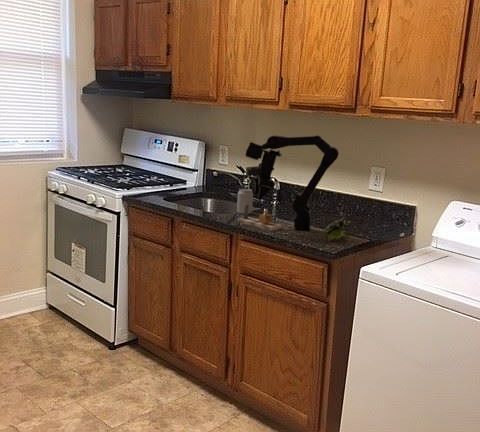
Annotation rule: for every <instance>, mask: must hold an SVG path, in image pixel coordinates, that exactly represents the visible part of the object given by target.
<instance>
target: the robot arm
mask: <svg viewBox="0 0 480 432" xmlns="http://www.w3.org/2000/svg"><path fill="white" fill-rule="evenodd" d="M294 146H295V147H298V146H316V148H318V149H319V150H320V151H321V152H322V153H323V157H322V159H321V161H320V164H319V166H318V167H317V169H316V170H315V172H314V174H313V176H312V177H311V179H310V180H309V182H308V183H307V185H306V187H305V188H304V190H303V191H302V192H297V193H296V196H295V198H294V199H293V200H292V207H291V208H292V210H293V212H295V213H296V216H295V217H294V222H293V223H294V224H293V227H294V230H295V231H305V232H310V230H311V218H312V216H311V212H312V209H311V208H310V207H309V206H308V203H309V202H310V198H311V195H313V192H314V191H315V189H316V188H317V187H318V185H319V183H320V181H321V180H322V177H324V175H325V174H326V172H327V170H328V169H329V168H330V167H331V166H332V164H333V163H334V162H335V161H336V160H337V159H338V157H339V150H338V148H336V147H335V146H331V145H330V144H329V143H328V142H327V141H326V140H324V139H323V138H322V136H320V135H318V134H317V135H308V136H307V135H306V136H284V135H277V134H276V135H271V136H269V137H268V138H267V140H266V142H265V143H263V144H262V145H261V144H257V143H255V142H253V141H250V142H249V145H248V147H247V149H246V150H245V157H246V158H249V159H252V160H255V161H259V159H261V162H259V163H258V165H257V166H256V165H255V166H247V167H245V171H246V172H245V174H246V176H247V177H252V178H253V180H254V182H255V183H254V184H255V185H254V187H255V188H254V194H255V195H258V196H257V197H258V200H259V201H261V200H262V199H263V198H264V197H265V195H266V194H268V192H270V190H272V189H273V187H274V185H275V183H274V181H273V180H272V173H273V171H275V168H274V167H275V163H276V159H277V157H282V153H281V151H280V149H282V148H285V147H294ZM269 149H270V150H269ZM277 149H279V150H277ZM276 150H277V151H276Z"/></svg>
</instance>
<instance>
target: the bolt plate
mask: <svg viewBox="0 0 480 432" xmlns="http://www.w3.org/2000/svg"><path fill="white" fill-rule="evenodd" d="M259 219H260V218H259ZM259 219H257V218H253V217H250V216H249V214H248V204H245V205H244V214H243V217H240V218H237V219H236V222H237V223H240V224H244V225H248V226H250V227H251V226H252V227H255V228H259V229H263V230H268V231H271V232H272V231H277V230H281V229H283V224H278V223H274V222H271V223H266V224H265V223H260V222H259Z"/></svg>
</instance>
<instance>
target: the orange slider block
mask: <svg viewBox="0 0 480 432" xmlns="http://www.w3.org/2000/svg"><path fill="white" fill-rule="evenodd" d="M268 211H269V210H268V208H264V209H263V213H261V214H259V222H260V223H265V224H266V223H272V216H273V215H272V214H269V213H268Z"/></svg>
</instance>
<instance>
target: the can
mask: <svg viewBox="0 0 480 432" xmlns="http://www.w3.org/2000/svg"><path fill="white" fill-rule="evenodd" d="M238 190H239V191H238V192H237V205H236V206H237V208H236V212H237V213H238V214H240V215H244V205H245V204H248V215H250V214H252V213H253V204H254V203H253V200H254V193H253V190H252V189H250V188H239V189H238Z"/></svg>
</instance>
